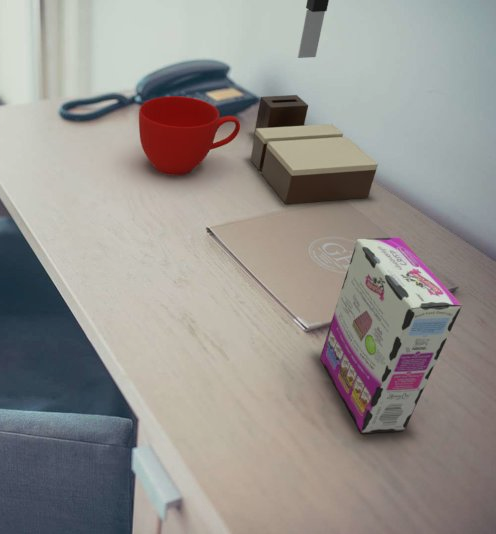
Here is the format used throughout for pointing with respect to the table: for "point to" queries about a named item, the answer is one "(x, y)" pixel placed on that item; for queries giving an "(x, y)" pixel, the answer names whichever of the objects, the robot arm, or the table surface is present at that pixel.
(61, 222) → the table surface
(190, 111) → the ceramic cup
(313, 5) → the knife
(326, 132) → the cake slice
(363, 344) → the candy bar box
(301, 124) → the knife block
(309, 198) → the cake
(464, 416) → the table surface
